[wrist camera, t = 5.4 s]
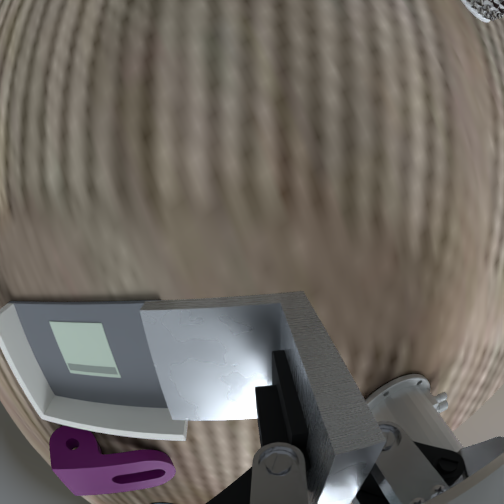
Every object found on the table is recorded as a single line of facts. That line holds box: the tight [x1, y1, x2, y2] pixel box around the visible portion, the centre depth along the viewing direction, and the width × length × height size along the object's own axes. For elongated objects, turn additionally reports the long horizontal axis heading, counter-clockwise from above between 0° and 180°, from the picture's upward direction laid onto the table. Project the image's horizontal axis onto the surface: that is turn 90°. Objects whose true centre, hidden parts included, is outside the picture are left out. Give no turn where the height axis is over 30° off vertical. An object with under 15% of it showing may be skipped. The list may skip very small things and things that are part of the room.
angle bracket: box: [140, 291, 387, 504], centre depth 8 cm, size 6×6×7 cm
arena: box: [0, 300, 188, 441], centre depth 23 cm, size 20×15×5 cm
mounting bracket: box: [49, 425, 176, 496], centre depth 29 cm, size 9×8×18 cm
